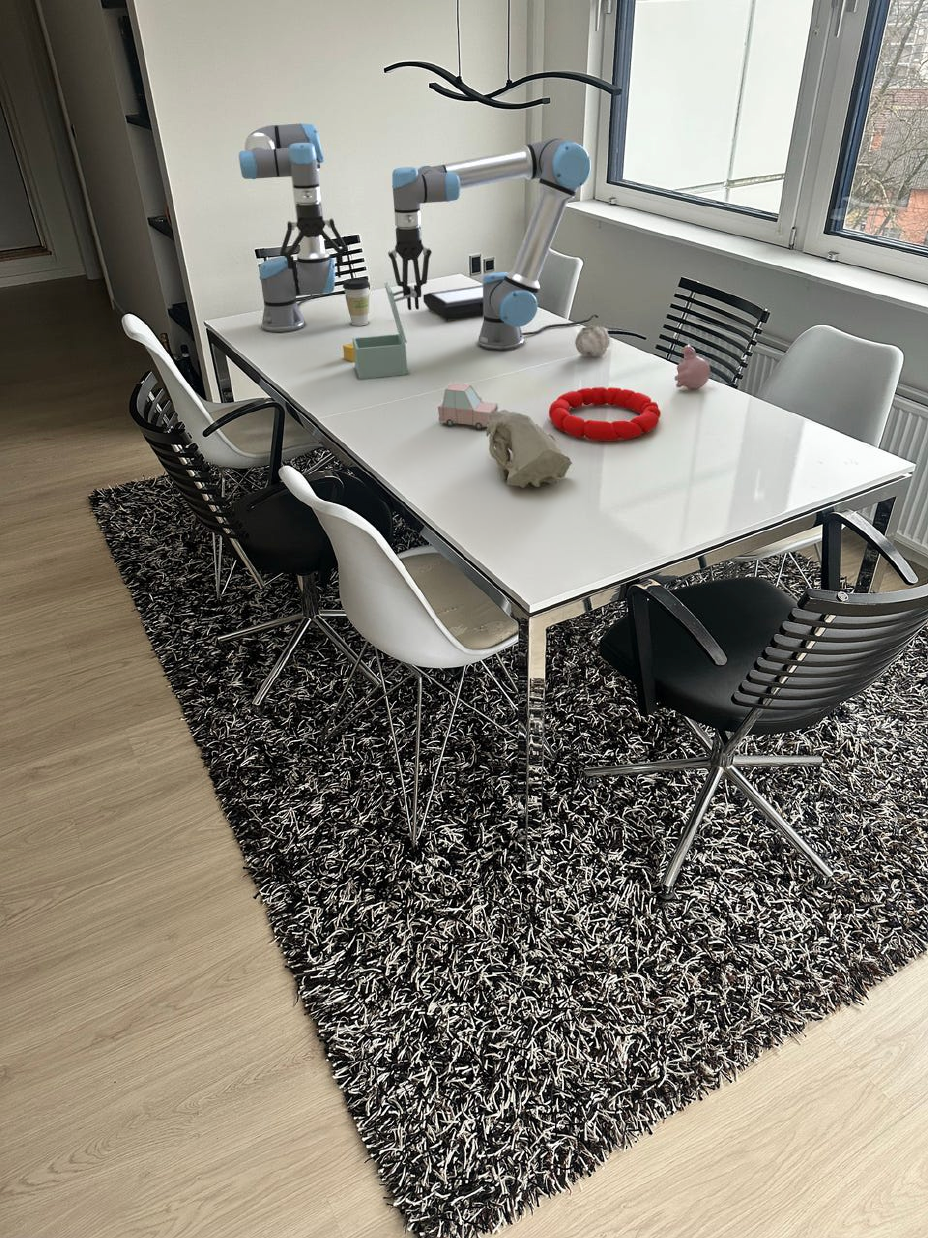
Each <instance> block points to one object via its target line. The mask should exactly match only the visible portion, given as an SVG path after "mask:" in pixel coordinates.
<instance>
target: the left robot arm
mask: <svg viewBox="0 0 928 1238" xmlns="http://www.w3.org/2000/svg"><path fill="white" fill-rule="evenodd" d="M238 161H239V162H238V163H239V168H240V173H241V177H242V178H243V179H245V180H256V179H271V178H288V177H291V186H292V193H293V194H292V195H293V202H294V209H295V218H296V219H295V220H296V222H294V221H290V220H288V221H287V230H286V232H285V236H284V239H283V242H282V245H281V248H280V251H279V255H280V256H277V257H273V258H270V259H267V260H264V261H263V262H261V263H260V265H259V266H258V270H259V280H260V285H261V286H260V287H261V292H262V299H263V313H262V319H261V326H262V330H264V331H265V332H271V333H286V332H293V331H296V330H297V331H298V330H300V329H302V328H304V326H305V319H304V317H303V314H302V312H301V310H300V307H299V306H300V305H301V304H303V303H305V302H307V301H310V300H312V299H313V297H314V295H321V296H322V295H326V294H332V293H333V292H334V290H335V286H336V285H335V284H336V273H337V278H342V275H341V274H342V273H341V266H343V265H344V259H343V254H344V253H347V252H348V250H349V248H348V246H347V244H346V242H345V241H344V239H343V238H342V236H341V234H340V232H339V231H338V229H337V228H336V224H335V221H334V219H333V218H329V219H327V220H325V219H324V214H323V206H322V203H321V202H320V201H321V200H322V196H321V189H320V187H321V186H320V181H319V180H320V179H319V171H320V170H321V164H323V163H324V162H325V159H324V155H323V150H322V145H321V141H320V137H319V133H318V129H317V127H316V125H315V124H313V123H300V122H299V123H290V124H288V123H287V124H275V125H274V124H271V125H266V126H263V127H260V128H258V129H256V130H254V131H252V132H251V133H250V134H249V135H248V136H247V138H246V139H245V142H244V150H240V151H238ZM326 226H327V228H328V229H329V228H330V229H331V231H332V233H333V234H334V236H335V238H336V240H337V242H338V244H339V245H340V246H341V247H339V245H337V243H336V242H335V241H334V240H333V239H332V238H331V237H330V236H329V235H328V234H327V233H326V232H325V231H324V229H325V227H326ZM296 228H297V233H298V234H297V236H296V238H295V239H294V241H293V243H292V244H291V245H290V247H289V249H288V250H287V248H288V245H289V241H290V239H291V235H292V232H293V231H294V230H295V229H296ZM325 241H326V242H327V243H328V245H329V246H330V247H331V248H332V249H333V250H334V251H335V259H334V258H332V257H331V253H330V252H329V251H328V250H327V249H326V247H325ZM298 246H299V250H300V251H298V253H297V254H296V260H294V256H292V255H293V254H294V252H295V251H296V249H297V248H298ZM286 250H287V251H286ZM335 261H336V262H335ZM335 265H336V266H335ZM336 270H337V272H336ZM300 296H301V297H302V296H303V297H304V296H310V297H308V298H305V299H302V300H300V301H299V302H298V303H297V297H300Z"/></svg>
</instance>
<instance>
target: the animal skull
mask: <svg viewBox="0 0 928 1238" xmlns="http://www.w3.org/2000/svg"><path fill="white" fill-rule="evenodd" d="M485 436H486V438H487V437H489V438H488V440H489V444H488V445H489V446H488V450H489V454H490V456H491V457H492V458H493V459H494V460H495V462H496V464H497V466H499V468H500V470H501V471H502V472H501V478H502V479H507V480H506V484H507V486H517V487H518V486H519V488H523V489H524V488H526V486H527V485H529V483H531V485H533V486H534V487H536V488H540V485H541V484H542V482H544V483H549V484H550V485H553V484H555V483H556V482H557V480H561V479H563V478H565V476H566V474H567V472H568V471H569V469H570V467H571V466H572V464H573V462H572V461H571V458H570V457H568V456H567V455H565V453H564V451H562V449H561V448H560V446H559V444H557V443H556V439H555V438H554V436H553V435H551V434H550V433H548V432H547V431H546V430H545V429H544V428H542V427H541V426H539V425H538V424H537V423H536V424H535V422H534V421H533V419H532V418H531V417H530V416H529V415H527V414H524V413H519V412H515V411H509V410H507V409H502V410H500V411H499V410H497V411H496V412H492V413H491V414H490V422H488V423H487V427H486V435H485ZM511 453H512V454H511ZM511 455H512V457H513V458H512V460H511ZM507 474H508V475H507Z"/></svg>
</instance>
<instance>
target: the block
mask: <svg viewBox="0 0 928 1238" xmlns="http://www.w3.org/2000/svg"><path fill="white" fill-rule="evenodd" d="M342 350H343V358H344V360H346V361H349V362H351V363H353V362H355V359H354V349H353V342H351V343H347V344H343V345H342Z"/></svg>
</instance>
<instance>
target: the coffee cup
mask: <svg viewBox="0 0 928 1238" xmlns="http://www.w3.org/2000/svg"><path fill="white" fill-rule="evenodd" d="M370 287H371V283H370V282H369V279H367V278H365V277H351V278H347V279H345V280H344V281H343V285H342V288H343V290H344V297H345V301H346V305H347V310H348V314H349V318H350V323H351V325H353V326H357V327H359V326H365V325H368V324H369V317H370V316H369V313H370Z"/></svg>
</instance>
